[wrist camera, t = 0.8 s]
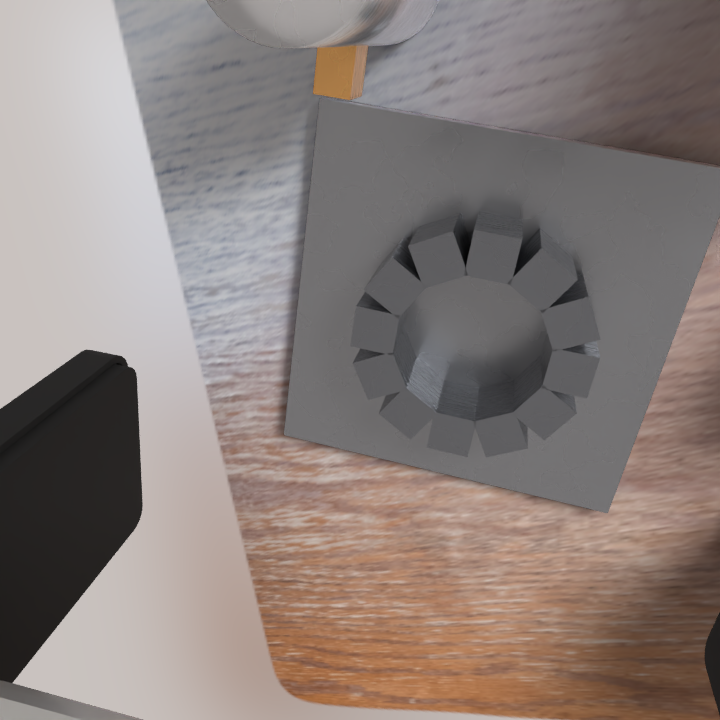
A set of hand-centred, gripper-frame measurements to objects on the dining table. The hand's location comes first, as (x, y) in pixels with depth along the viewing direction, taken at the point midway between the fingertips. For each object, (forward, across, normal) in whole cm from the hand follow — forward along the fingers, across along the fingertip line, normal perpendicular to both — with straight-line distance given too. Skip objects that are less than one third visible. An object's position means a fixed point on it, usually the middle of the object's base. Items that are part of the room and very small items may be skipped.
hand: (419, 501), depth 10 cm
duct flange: (+24, 0, +6) cm, 25 cm away
